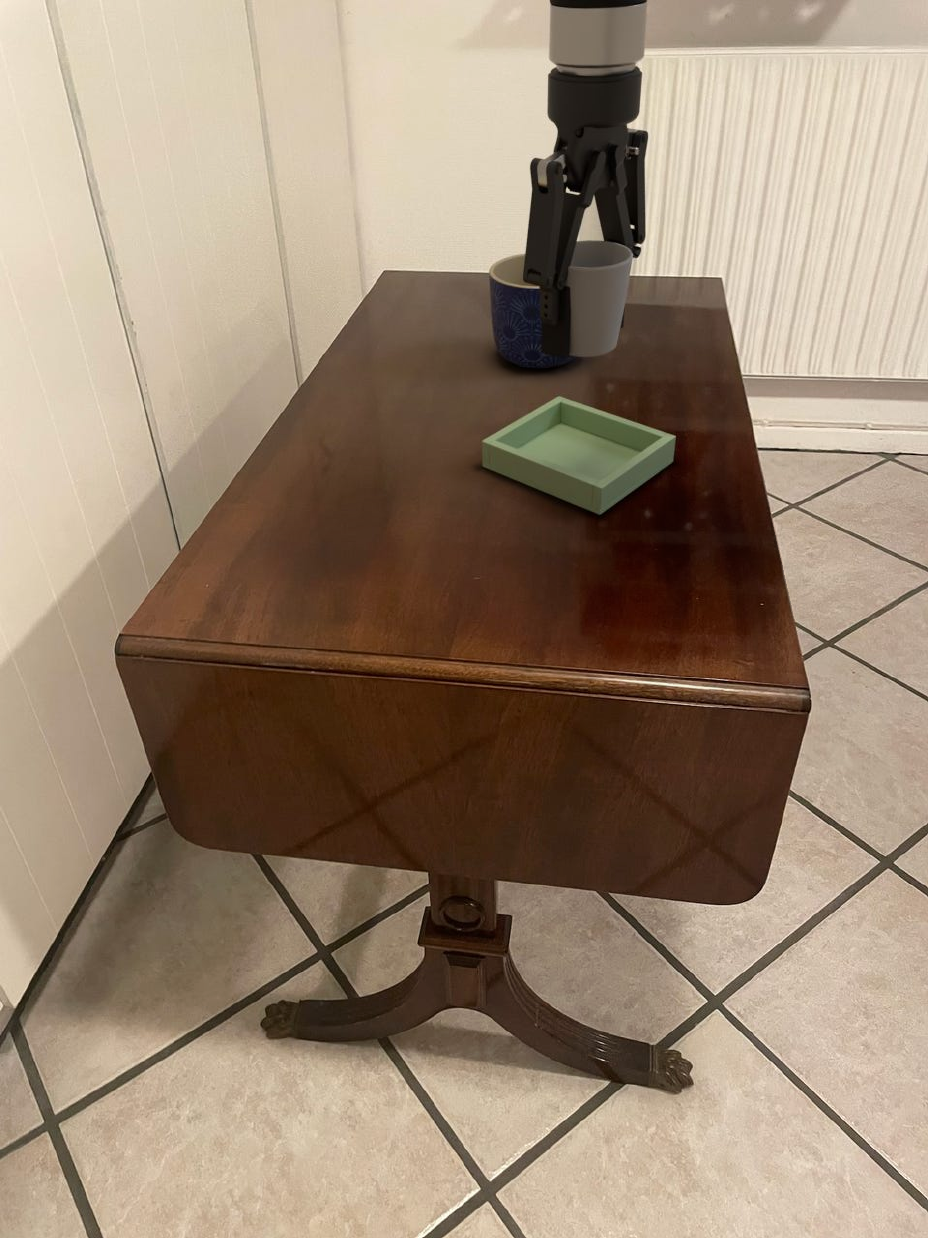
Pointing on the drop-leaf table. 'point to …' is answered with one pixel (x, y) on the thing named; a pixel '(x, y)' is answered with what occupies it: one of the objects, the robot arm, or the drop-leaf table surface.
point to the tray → (578, 453)
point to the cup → (597, 295)
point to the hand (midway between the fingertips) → (583, 339)
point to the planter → (517, 316)
